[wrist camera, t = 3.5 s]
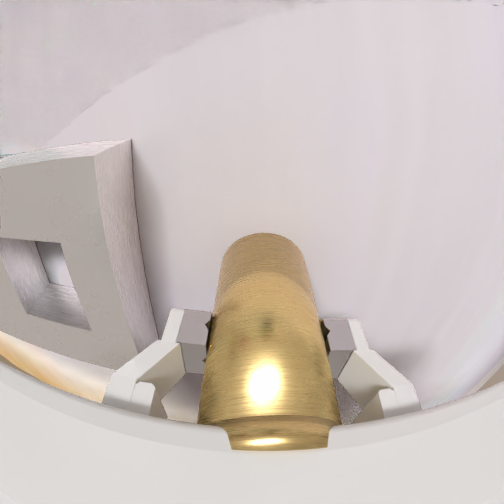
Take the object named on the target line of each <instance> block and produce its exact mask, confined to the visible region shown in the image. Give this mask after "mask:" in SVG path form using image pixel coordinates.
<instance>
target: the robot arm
mask: <svg viewBox="0 0 504 504" xmlns="http://www.w3.org/2000/svg"><path fill="white" fill-rule="evenodd" d="M212 318H213V315H212V312H205V311H196V310H189V309H179V308H172V309H171V311H170V314H169V317H168V320H167V323H166V326H165V329H164V332H163V335H162V338H161V340H156V341H155V342H154V343H152V344H151V345H150V346H148V347H147V348H146V349H144V350H143V351H142V352H141V353H139V354H138V355H137V356H135V357H134V358H133V359H131V360H130V361H129V362H127V363H126V364H125V365H123V366H122V367H121V368H119V369H118V370H117V371H116V372H114V373H113V374H112V376H111V379H110V381H109V384H108V387H107V390H106V392H105V395H104V398H103V401H102V403H98V402H95V401H92V400H89V399H86V398H83V397H80V396H77V395H74V394H72V393H69V392H66V391H64V390H61V389H58V388H56V387H53V386H51V385H49V384H46V383H44V382H42V381H39V380H37V379H35V378H32V377H31V376H28V375H26V374H24V373H22V372H20V371H18V370H16V369H14V368H12V367H10V366H9V365H7V364H5V363H3V362H1V361H0V504H504V381H502V382H500V383H498V384H496V385H493V386H491V387H489V388H486V389H484V390H481V391H479V392H476V393H474V394H471V395H468V396H466V397H463V398H460V399H457V400H454V401H451V402H448V403H445V404H442V405H438V406H435V407H431V408H428V409H424V410H422V409H421V406H420V403H419V400H418V397H417V394H416V392H415V389H414V386H413V384H412V383H411V382H410V381H409V380H408V379H407V378H405V377H404V376H403V375H402V374H401V373H400V372H398V371H397V370H396V369H395V368H394V367H393V366H392V365H390V364H389V363H388V362H387V361H386V360H385V359H383V358H382V357H381V356H380V355H379V354H378V353H376V352H375V351H374V350H370V349H369V346H368V343H367V340H366V337H365V335H364V332H363V329H362V326H361V324H360V321H359V319H358V318H346V319H344V318H321V319H320V324H321V329H322V333H323V337H324V342H325V346H326V350H327V355H328V360H329V364H330V369H331V374H332V378H338V379H337V380H338V381H339V382H340V383H341V384H342V386H343V387H344V388H345V389H346V390H347V392H348V393H349V394H350V395H351V397H352V398H353V399H354V400H355V401H356V403H357V404H358V405H359V406H360V407H361V409H362V411H361V413H360V414H359V415H358V416H357V417H356V418H355V419H354V420H353V424H345V425H336V426H333V427H332V428H331V429H330V431H329V438H328V447H327V448H318V449H307V450H289V451H244V450H232V449H231V445H230V442H229V438H228V435H227V432H226V431H225V430H224V429H223V428H221V427H219V426H213V425H204V424H196V423H188V422H182V421H175V420H169V419H167V418H168V416H167V414H166V412H165V409H164V407H163V405H162V402H161V399H162V398H163V397H164V396H165V395H166V394H167V393H168V392H169V391H170V390H171V389H172V388H173V387H174V386H175V385H176V383H177V382H178V381H179V380H180V379H181V378H182V377H183V376H184V375H185V374H186V373H185V372H187V373H198V374H204V369H205V362H206V356H207V349H208V343H209V336H210V330H211V324H212Z"/></svg>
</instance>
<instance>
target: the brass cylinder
mask: <svg viewBox="0 0 504 504" xmlns="http://www.w3.org/2000/svg"><path fill="white" fill-rule="evenodd" d="M197 424H204V425H213V426H219V427H221V428H223V429H224V430H225V431H226V432H227V435H228V438H229V442H230V445H231V449H232V450H244V451H289V450H307V449H318V448H327V447H328V438H329V431H330V429H331V428H332V427H333V426H336V425H341V420H340V414H339V409H338V403H337V398H336V393H335V388H334V383H333V378H332V374H331V369H330V364H329V360H328V355H327V350H326V346H325V342H324V337H323V333H322V329H321V324H320V320H319V316H318V312H317V308H316V304H315V300H314V296H313V292H312V288H311V284H310V280H309V276H308V273H307V269H306V265H305V262H304V258H303V255H302V253H301V251H300V250H299V249H298V247H297V246H296V245H295V244H294V243H292V242H291V241H290V240H288V239H286V238H285V237H282V236H279V235H276V234H270V233H257V234H252V235H248V236H246V237H243V238H241V239H239V240H238V241H236V242H235V243H234V244H232V245H231V246H230V247H229V249H228V250H227V251H226V253H225V255H224V257H223V260H222V264H221V270H220V275H219V281H218V287H217V293H216V299H215V305H214V311H213V318H212V324H211V330H210V336H209V343H208V349H207V356H206V362H205V369H204V376H203V383H202V390H201V398H200V405H199V413H198V420H197Z"/></svg>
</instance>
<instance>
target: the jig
mask: <svg viewBox="0 0 504 504" xmlns="http://www.w3.org/2000/svg"><path fill="white" fill-rule="evenodd" d="M35 241H44V242H56V243H60V244H61V247H62V251H63V254H64V258H65V261H66V264H67V267H68V270H69V273H70V276H71V279H72V282H73V285H74V288H73V287H67V286H62V285H56V284H51V283H49V280H48V278H47V275H46V273H45V270H44V267H43V264H42V261H41V258H40V255H39V252H38V249H37V246H36V243H35ZM0 331H2V332H4V333H7V334H9V335H11V336H14V337H16V338H18V339H21V340H23V341H26V342H28V343H31V344H33V345H36V346H39V347H41V348H44V349H47V350H50V351H53V352H55V353H58V354H61V355H64V356H68V357H71V358H74V359H77V360H81V361H84V362H88V363H91V364H95V365H99V366H103V367H106V368H110V369H115V370H118V369H119V368H121V367H122V366H123V365H125V364H126V363H127V362H129V361H130V360H131V359H133V358H134V357H135V356H137V355H138V354H139V353H141V352H142V351H143V350H144V349H146V348H147V347H148V346H150V345H151V344H152V343H154V342H155V341H156V340H158V339H159V337H158V333H157V329H156V325H155V321H154V316H153V312H152V307H151V302H150V297H149V292H148V287H147V282H146V277H145V271H144V265H143V259H142V253H141V246H140V239H139V232H138V224H137V215H136V206H135V196H134V184H133V170H132V150H131V139H120V140H107V141H96V142H87V143H78V144H71V145H64V146H57V147H51V148H45V149H39V150H34V151H29V152H24V153H19V154H15V155H10V156H6V157H2V158H0Z"/></svg>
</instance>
